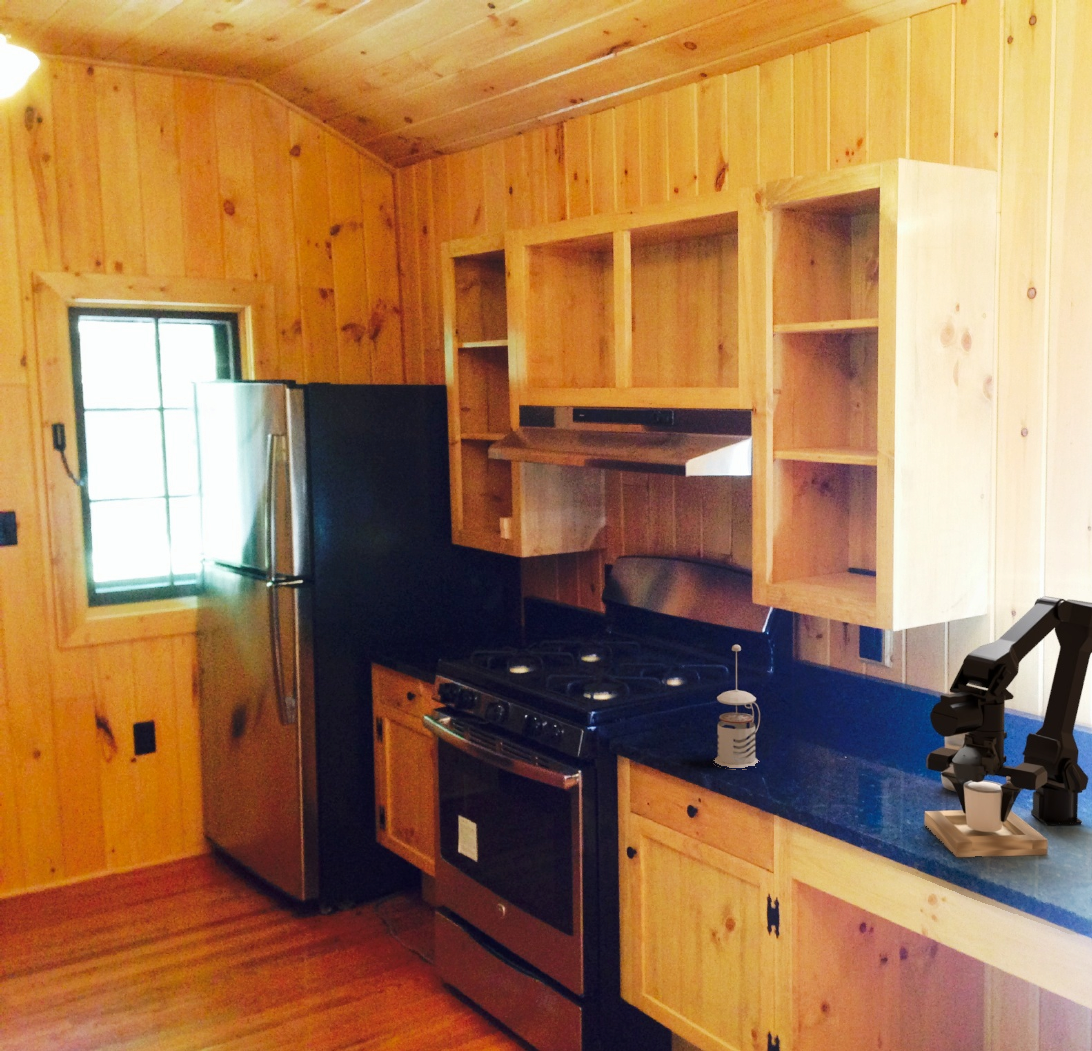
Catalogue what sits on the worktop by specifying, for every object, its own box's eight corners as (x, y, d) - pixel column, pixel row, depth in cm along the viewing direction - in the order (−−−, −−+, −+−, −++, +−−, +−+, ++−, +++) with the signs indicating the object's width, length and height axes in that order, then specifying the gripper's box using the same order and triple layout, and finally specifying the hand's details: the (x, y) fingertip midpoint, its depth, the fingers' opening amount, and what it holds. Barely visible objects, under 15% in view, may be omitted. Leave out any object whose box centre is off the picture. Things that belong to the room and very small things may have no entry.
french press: (703, 762, 246) (702, 644, 244) (738, 751, 254) (738, 636, 252) (740, 772, 239) (739, 651, 237) (775, 760, 247) (775, 643, 244)
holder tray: (1008, 822, 208) (1008, 808, 208) (1047, 854, 193) (1047, 839, 193) (924, 824, 208) (924, 811, 207) (956, 857, 193) (957, 842, 192)
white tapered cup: (971, 815, 205) (971, 776, 204) (1011, 824, 201) (1012, 784, 200) (956, 827, 200) (957, 787, 199) (997, 836, 195) (998, 795, 195)
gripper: (912, 728, 199) (911, 817, 201) (1023, 748, 186) (1021, 843, 188) (941, 714, 207) (940, 800, 209) (1049, 733, 194) (1047, 824, 196)
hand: (984, 816), depth 200 cm, fingers closed on white tapered cup, 6 cm apart
